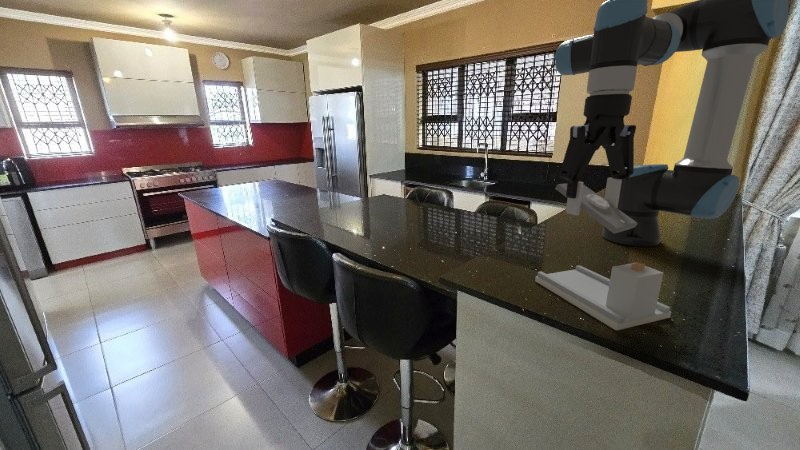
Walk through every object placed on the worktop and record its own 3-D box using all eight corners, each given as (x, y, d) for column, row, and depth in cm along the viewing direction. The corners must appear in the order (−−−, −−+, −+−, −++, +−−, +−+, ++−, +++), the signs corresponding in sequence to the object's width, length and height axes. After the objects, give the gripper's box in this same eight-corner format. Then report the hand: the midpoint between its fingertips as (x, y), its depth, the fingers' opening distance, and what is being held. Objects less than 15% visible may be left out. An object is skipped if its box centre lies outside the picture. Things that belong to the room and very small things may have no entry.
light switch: (620, 225, 61) (559, 180, 70) (600, 249, 65) (544, 203, 73) (642, 219, 66) (582, 177, 74) (621, 241, 69) (566, 199, 78)
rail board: (580, 273, 82) (585, 232, 79) (670, 317, 63) (682, 265, 60) (535, 281, 78) (539, 238, 75) (616, 330, 59) (626, 276, 56)
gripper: (633, 96, 70) (615, 203, 76) (546, 95, 63) (534, 212, 70) (671, 93, 63) (648, 211, 69) (577, 91, 56) (561, 221, 63)
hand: (591, 211), depth 69 cm, fingers closed on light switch, 9 cm apart
